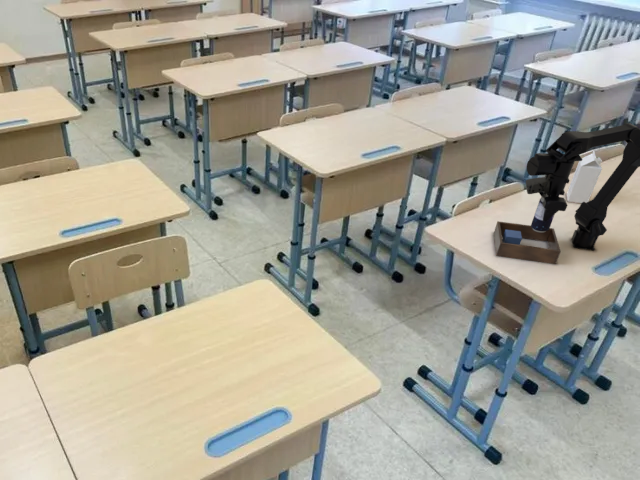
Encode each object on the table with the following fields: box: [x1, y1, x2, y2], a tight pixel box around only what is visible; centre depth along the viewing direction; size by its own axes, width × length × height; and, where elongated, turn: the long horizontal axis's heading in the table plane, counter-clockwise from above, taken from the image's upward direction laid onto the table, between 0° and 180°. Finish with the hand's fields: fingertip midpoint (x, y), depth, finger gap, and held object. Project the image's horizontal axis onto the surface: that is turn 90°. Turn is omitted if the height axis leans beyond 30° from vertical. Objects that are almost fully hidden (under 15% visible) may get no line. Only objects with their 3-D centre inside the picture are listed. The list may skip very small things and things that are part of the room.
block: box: [502, 229, 523, 245], centre depth 191 cm, size 5×5×5 cm
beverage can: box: [530, 194, 556, 233], centre depth 183 cm, size 6×6×12 cm
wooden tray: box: [493, 220, 561, 265], centre depth 190 cm, size 19×16×5 cm
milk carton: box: [566, 150, 603, 204], centre depth 214 cm, size 7×7×19 cm
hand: (543, 216), depth 184 cm, fingers closed on beverage can, 6 cm apart
